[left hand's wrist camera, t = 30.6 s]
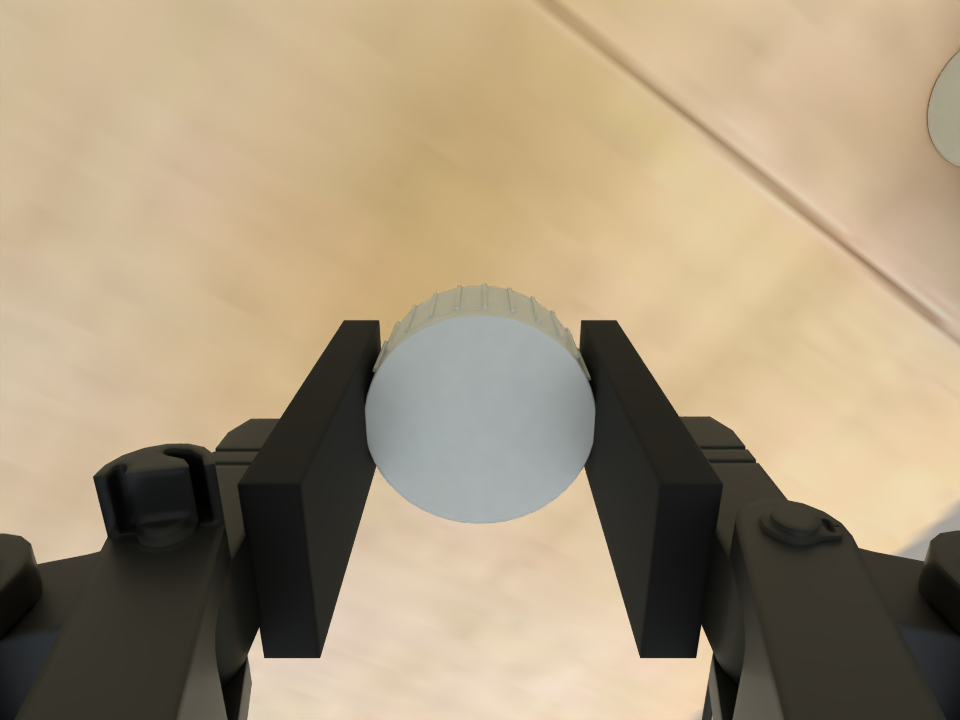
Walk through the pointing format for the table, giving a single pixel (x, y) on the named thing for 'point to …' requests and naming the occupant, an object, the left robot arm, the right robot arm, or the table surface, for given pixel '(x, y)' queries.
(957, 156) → the bottle
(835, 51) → the table surface
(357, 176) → the table surface
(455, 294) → the cap
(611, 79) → the table surface
